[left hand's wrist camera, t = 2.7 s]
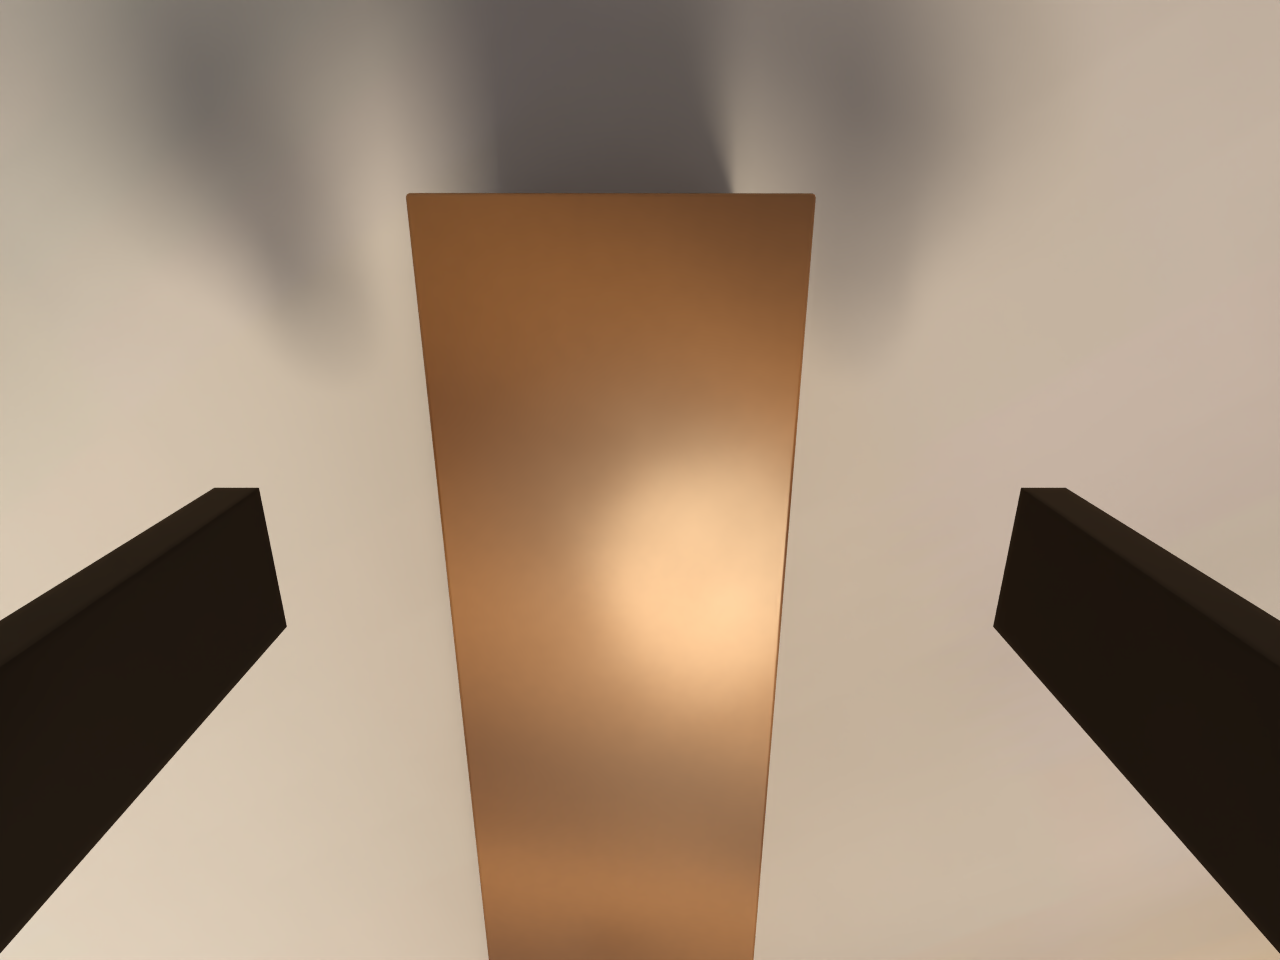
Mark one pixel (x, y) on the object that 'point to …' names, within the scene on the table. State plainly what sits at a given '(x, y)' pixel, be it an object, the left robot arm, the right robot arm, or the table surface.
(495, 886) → the beam
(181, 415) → the table surface
